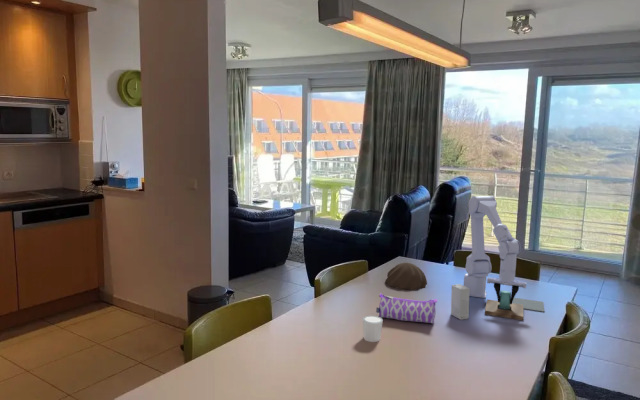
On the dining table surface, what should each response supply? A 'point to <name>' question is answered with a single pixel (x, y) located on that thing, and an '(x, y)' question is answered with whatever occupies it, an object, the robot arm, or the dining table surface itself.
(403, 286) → the decorative dome
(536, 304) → the slate mat
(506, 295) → the peg
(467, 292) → the skincare box
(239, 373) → the dining table surface
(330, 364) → the dining table surface
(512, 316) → the holder block
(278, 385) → the dining table surface
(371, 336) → the white cylinder
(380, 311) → the pencil case
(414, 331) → the dining table surface
